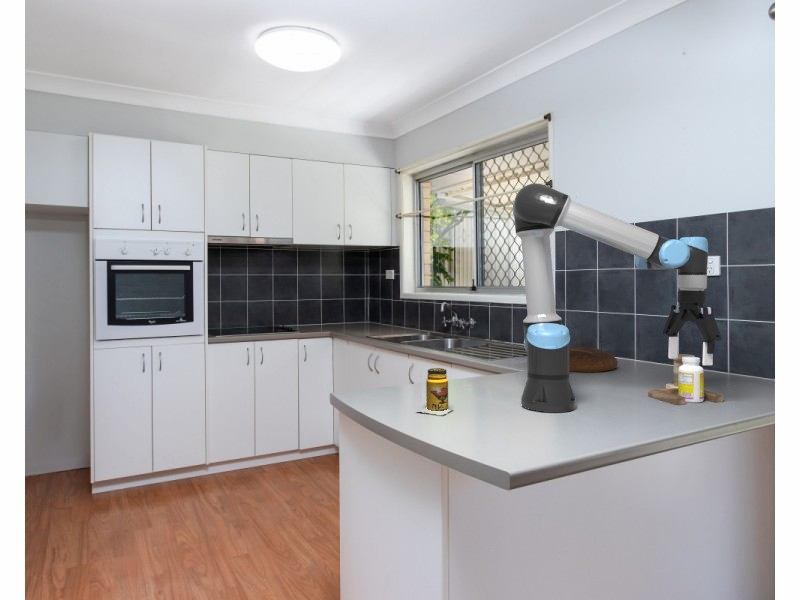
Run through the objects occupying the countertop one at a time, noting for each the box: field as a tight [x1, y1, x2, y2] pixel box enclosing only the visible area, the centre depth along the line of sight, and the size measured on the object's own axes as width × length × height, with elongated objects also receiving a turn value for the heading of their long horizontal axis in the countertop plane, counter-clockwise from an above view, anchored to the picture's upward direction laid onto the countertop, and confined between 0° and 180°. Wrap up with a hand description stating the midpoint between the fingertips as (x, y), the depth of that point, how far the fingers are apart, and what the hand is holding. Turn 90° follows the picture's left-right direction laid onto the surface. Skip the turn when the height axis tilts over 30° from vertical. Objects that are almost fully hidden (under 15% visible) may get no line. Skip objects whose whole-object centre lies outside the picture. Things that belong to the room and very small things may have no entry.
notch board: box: [647, 388, 724, 406], centre depth 161 cm, size 16×12×2 cm
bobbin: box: [665, 353, 696, 389], centre depth 174 cm, size 9×9×11 cm
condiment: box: [425, 367, 449, 411], centre depth 148 cm, size 7×8×12 cm
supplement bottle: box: [678, 356, 705, 404], centre depth 158 cm, size 7×7×13 cm
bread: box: [569, 346, 619, 373], centre depth 220 cm, size 28×27×9 cm
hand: (689, 361), depth 158 cm, fingers open, 13 cm apart
